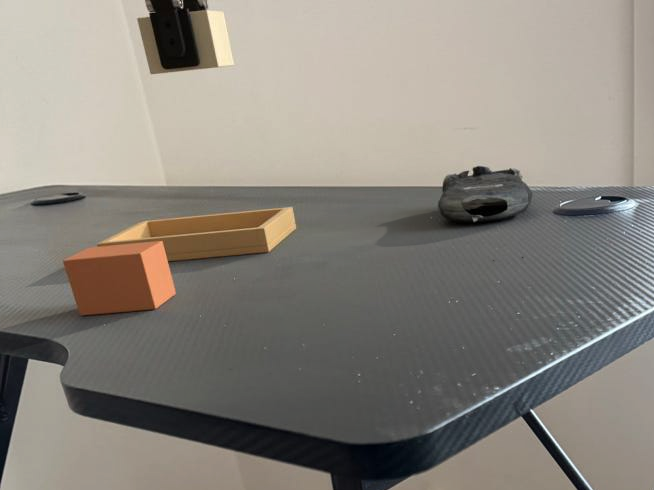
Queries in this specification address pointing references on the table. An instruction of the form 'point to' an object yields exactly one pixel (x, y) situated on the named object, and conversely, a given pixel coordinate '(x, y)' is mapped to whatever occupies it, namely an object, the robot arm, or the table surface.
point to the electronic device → (484, 195)
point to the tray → (212, 233)
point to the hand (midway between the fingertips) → (191, 64)
